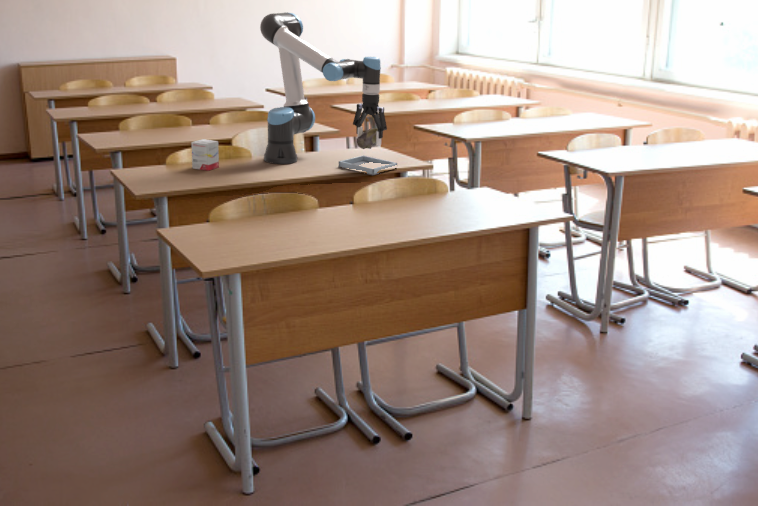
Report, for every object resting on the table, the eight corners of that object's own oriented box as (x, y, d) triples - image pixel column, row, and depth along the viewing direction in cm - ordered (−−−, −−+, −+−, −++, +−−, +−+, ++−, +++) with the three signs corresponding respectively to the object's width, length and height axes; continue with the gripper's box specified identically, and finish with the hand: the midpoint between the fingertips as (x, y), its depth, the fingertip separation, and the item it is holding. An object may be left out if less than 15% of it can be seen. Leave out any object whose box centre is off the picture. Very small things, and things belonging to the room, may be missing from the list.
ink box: (219, 167, 366) (219, 140, 362) (207, 171, 359) (207, 144, 355) (203, 164, 369) (202, 138, 365) (191, 168, 362) (190, 141, 358)
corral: (338, 167, 375) (338, 161, 375) (363, 161, 389) (363, 155, 388) (372, 175, 364) (372, 169, 363) (396, 168, 377) (397, 162, 377)
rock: (378, 146, 379) (379, 125, 376) (381, 151, 370) (382, 129, 367) (355, 146, 377) (355, 124, 374) (357, 151, 368) (358, 129, 365)
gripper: (345, 90, 369) (344, 140, 376) (386, 97, 356) (384, 148, 363) (356, 89, 375) (354, 138, 382) (396, 95, 362) (394, 146, 369)
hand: (369, 143), depth 373 cm, fingers closed on rock, 10 cm apart
